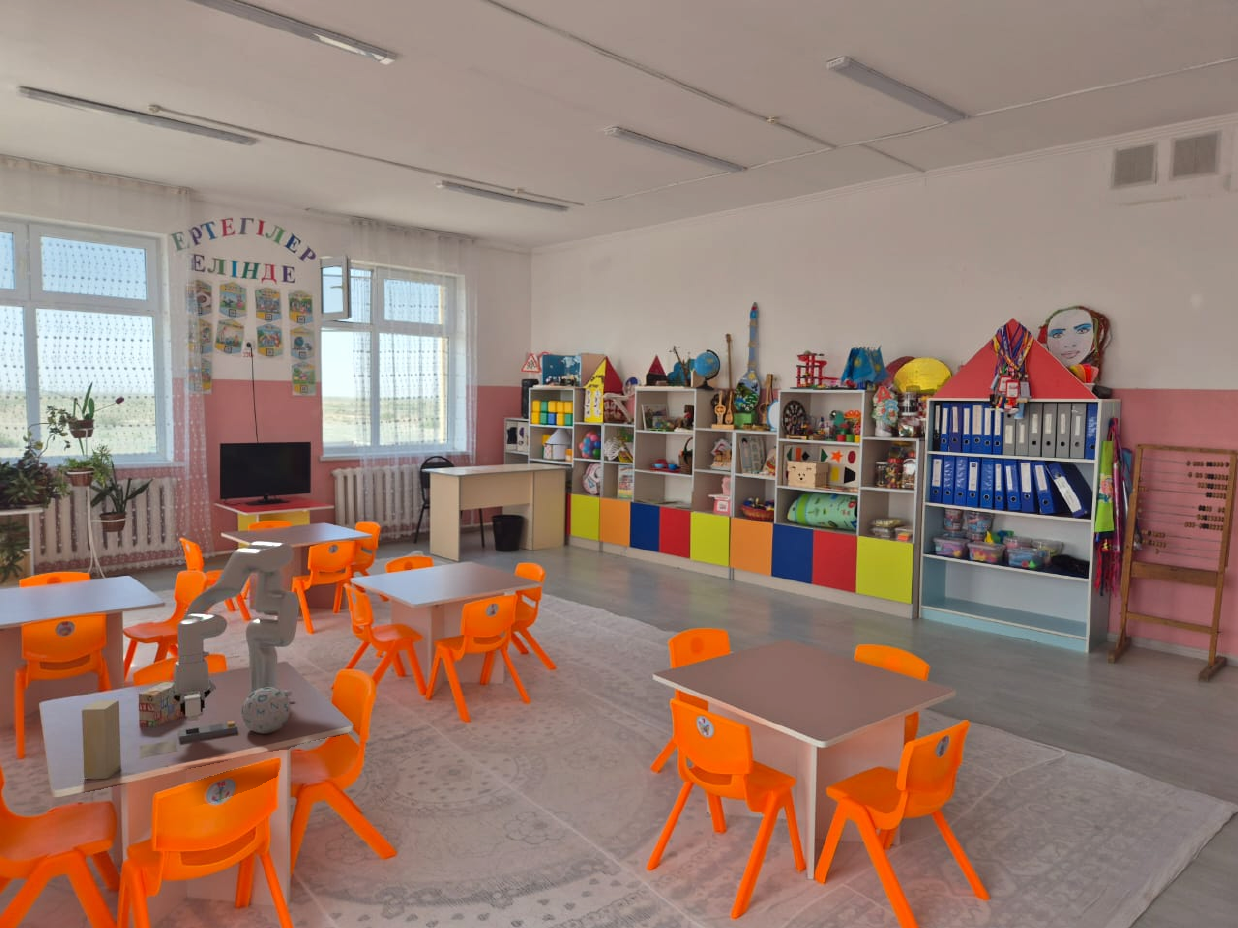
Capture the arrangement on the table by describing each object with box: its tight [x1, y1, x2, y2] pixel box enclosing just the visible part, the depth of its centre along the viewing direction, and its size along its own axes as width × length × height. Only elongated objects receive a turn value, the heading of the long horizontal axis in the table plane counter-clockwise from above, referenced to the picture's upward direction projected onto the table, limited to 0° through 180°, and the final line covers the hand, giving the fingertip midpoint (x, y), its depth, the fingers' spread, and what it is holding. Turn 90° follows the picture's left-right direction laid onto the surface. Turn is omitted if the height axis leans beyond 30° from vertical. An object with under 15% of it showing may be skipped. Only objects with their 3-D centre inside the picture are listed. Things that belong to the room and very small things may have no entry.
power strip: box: [177, 720, 238, 743], centre depth 273 cm, size 17×6×4 cm, turn 121°
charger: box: [184, 693, 202, 722], centre depth 270 cm, size 4×6×7 cm
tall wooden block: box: [81, 699, 122, 780], centre depth 245 cm, size 8×7×21 cm
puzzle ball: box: [241, 687, 291, 735], centre depth 278 cm, size 15×15×15 cm
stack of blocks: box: [138, 681, 199, 727], centre depth 290 cm, size 21×6×12 cm, turn 168°
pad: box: [139, 739, 178, 759], centre depth 261 cm, size 10×10×1 cm
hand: (192, 711), depth 270 cm, fingers closed on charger, 4 cm apart
